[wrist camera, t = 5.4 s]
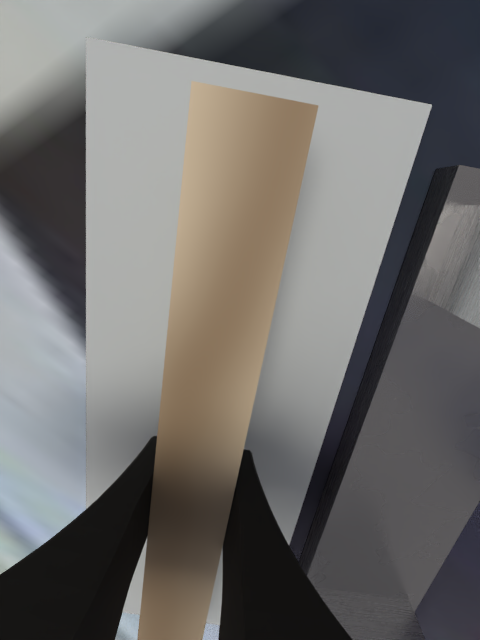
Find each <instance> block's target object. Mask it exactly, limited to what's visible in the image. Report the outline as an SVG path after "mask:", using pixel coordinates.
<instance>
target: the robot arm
mask: <svg viewBox="0 0 480 640" xmlns="http://www.w3.org/2000/svg"><path fill="white" fill-rule="evenodd" d="M156 443H157V436H153V437H151V438H150V440H149V441H148V443H147V444H146V445H145V447H144V448H143V449H142V451H141V452H140V453H139V454H138V456H137V457H136V458H135V459H134V460H133V462H132V463H131V464H130V465H129V466H128V467H127V468H126V470H125V471H124V472H123V473H122V474H121V475H120V476H119V477H118V478H117V480H116V481H115V482H114V483H113V484H112V485H111V486H110V487H109V488H108V489H107V490H106V491H105V492H104V493H103V494H102V495H101V496H100V497H99V498H98V499H97V500H96V501H95V502H93V503H92V504H91V505H90V506H89V507H88V508H87V509H86V510H85V511H84V512H82V513H81V514H80V515H79V516H78V517H77V518H76V519H74V520H73V521H72V522H71V523H70V524H68V525H67V526H66V527H65V528H63V529H62V530H61V531H60V532H59V533H57V534H56V535H55V536H54V537H52V538H51V539H50V540H48V541H47V542H46V543H44V544H43V545H42V546H40V547H39V548H38V549H36V550H35V551H33V552H32V553H31V554H29V555H28V556H26V557H25V558H23V559H22V560H21V561H19V562H18V563H16V564H15V565H14V566H12V567H11V568H9V569H8V570H6V571H5V572H3V573H2V574H0V640H115V637H116V633H117V629H118V626H119V622H120V619H121V615H122V612H123V608H124V604H125V601H126V597H127V594H128V590H129V587H130V584H131V581H132V578H133V575H134V572H135V569H136V566H137V564H138V561H139V558H140V555H141V553H142V550H143V547H144V545H145V542H146V539H147V536H148V526H149V516H150V506H151V495H152V485H153V475H154V464H155V454H156ZM219 640H353V639H352V638H351V637H350V636H349V634H348V633H347V632H346V631H345V629H344V628H343V627H342V625H341V624H340V623H339V621H338V620H337V619H336V617H335V616H334V615H333V613H332V612H331V611H330V609H329V608H328V606H327V605H326V604H325V602H324V601H323V600H322V598H321V596H320V595H319V593H318V592H317V590H316V589H315V587H314V586H313V584H312V583H311V581H310V580H309V578H308V577H307V575H306V574H305V572H304V571H303V569H302V567H301V566H300V564H299V562H298V561H297V559H296V557H295V556H294V554H293V552H292V550H291V548H290V547H289V545H288V543H287V541H286V539H285V537H284V535H283V533H282V531H281V529H280V527H279V525H278V523H277V521H276V519H275V517H274V515H273V512H272V510H271V508H270V506H269V503H268V501H267V498H266V496H265V493H264V491H263V488H262V485H261V483H260V480H259V477H258V474H257V471H256V467H255V464H254V460H253V456H252V452H251V451H250V450H246V449H244V450H243V455H242V459H241V464H240V468H239V473H238V477H237V482H236V487H235V491H234V496H233V500H232V505H231V510H230V514H229V519H228V523H227V528H226V533H225V537H224V542H223V577H222V605H221V617H220V629H219Z"/></svg>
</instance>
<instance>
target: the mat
mask: <svg viewBox="0 0 480 640" xmlns="http://www.w3.org/2000/svg"><path fill="white" fill-rule="evenodd" d="M191 81H195V82H200V83H205V84H211V85H216V86H221V87H226V88H231V89H236V90H242V91H247V92H252V93H257V94H262V95H267V96H273V97H278V98H283V99H288V100H293V101H298V102H304V103H309V104H314V105H319V106H318V111H317V115H316V120H315V124H314V129H313V133H312V138H311V143H310V147H309V152H308V156H307V161H306V166H305V170H304V175H303V179H302V184H301V189H300V193H299V198H298V202H297V207H296V211H295V216H294V221H293V225H292V230H291V234H290V239H289V244H288V248H287V253H286V257H285V262H284V266H283V271H282V276H281V280H280V285H279V289H278V294H277V299H276V303H275V308H274V312H273V317H272V322H271V326H270V331H269V335H268V340H267V344H266V349H265V354H264V358H263V363H262V367H261V372H260V377H259V381H258V386H257V390H256V395H255V400H254V404H253V409H252V413H251V418H250V422H249V427H248V432H247V436H246V441H245V445H244V449H246V450H250V451H251V452H252V456H253V460H254V464H255V467H256V471H257V474H258V477H259V480H260V483H261V485H262V488H263V491H264V493H265V496H266V498H267V501H268V503H269V506H270V508H271V510H272V512H273V515H274V517H275V519H276V521H277V523H278V525H279V527H280V529H281V531H282V533H283V535H284V537H285V539H286V541H287V543H288V545H290V541H291V538H292V535H293V532H294V529H295V526H296V523H297V520H298V517H299V514H300V511H301V508H302V504H303V501H304V498H305V495H306V492H307V489H308V486H309V483H310V480H311V477H312V474H313V471H314V467H315V464H316V461H317V458H318V455H319V452H320V449H321V446H322V443H323V440H324V437H325V434H326V431H327V427H328V424H329V421H330V418H331V415H332V412H333V409H334V406H335V403H336V400H337V397H338V394H339V390H340V387H341V384H342V381H343V378H344V375H345V372H346V369H347V366H348V363H349V360H350V357H351V353H352V350H353V347H354V344H355V341H356V338H357V335H358V332H359V329H360V326H361V323H362V320H363V316H364V313H365V310H366V307H367V304H368V301H369V298H370V295H371V292H372V289H373V286H374V283H375V279H376V276H377V273H378V270H379V267H380V264H381V261H382V258H383V255H384V252H385V249H386V246H387V242H388V239H389V236H390V233H391V230H392V227H393V224H394V221H395V218H396V215H397V212H398V209H399V205H400V202H401V199H402V196H403V193H404V190H405V187H406V184H407V181H408V178H409V175H410V172H411V168H412V165H413V162H414V159H415V156H416V153H417V150H418V147H419V144H420V141H421V138H422V135H423V131H424V128H425V125H426V122H427V119H428V116H429V113H430V110H431V107H432V105H430V104H425V103H420V102H415V101H410V100H405V99H400V98H395V97H390V96H385V95H379V94H374V93H369V92H364V91H359V90H354V89H349V88H344V87H339V86H334V85H329V84H324V83H318V82H313V81H308V80H303V79H298V78H293V77H288V76H283V75H278V74H273V73H268V72H263V71H257V70H252V69H247V68H242V67H237V66H232V65H227V64H222V63H217V62H212V61H207V60H202V59H196V58H191V57H186V56H181V55H176V54H171V53H166V52H161V51H156V50H151V49H146V48H141V47H135V46H130V45H125V44H120V43H115V42H110V41H105V40H100V39H95V38H90V37H86V509H87V508H88V507H89V506H90V505H91V504H92V503H93V502H95V501H96V500H97V499H98V498H99V497H100V496H101V495H102V494H103V493H104V492H105V491H106V490H107V489H108V488H109V487H110V486H111V485H112V484H113V483H114V482H115V481H116V480H117V478H118V477H119V476H120V475H121V474H122V473H123V472H124V471H125V470H126V468H127V467H128V466H129V465H130V464H131V463H132V462H133V460H134V459H135V458H136V457H137V456H138V454H139V453H140V452H141V451H142V449H143V448H144V447H145V445H146V444H147V443H148V441H149V440H150V438H151V437H153V436H157V433H158V423H159V412H160V402H161V392H162V381H163V371H164V361H165V350H166V340H167V330H168V319H169V309H170V298H171V288H172V278H173V267H174V257H175V247H176V236H177V226H178V216H179V205H180V195H181V185H182V174H183V164H184V154H185V143H186V133H187V122H188V112H189V102H190V91H191ZM147 537H148V536H147ZM146 547H147V539H146V542H145V545H144V547H143V550H142V553H141V555H140V558H139V561H138V564H137V566H136V569H135V572H134V575H133V578H132V581H131V584H130V587H129V590H128V594H127V597H126V601H125V604H124V608H123V613H130V614H138V615H140V609H141V599H142V588H143V578H144V568H145V557H146ZM222 577H223V546H222V551H221V555H220V560H219V565H218V569H217V574H216V578H215V583H214V588H213V592H212V597H211V601H210V606H209V611H208V615H207V620H206V623H208V624H216V625H220V617H221V605H222Z"/></svg>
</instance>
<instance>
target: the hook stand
mask: <svg viewBox="0 0 480 640" xmlns="http://www.w3.org/2000/svg"><path fill="white" fill-rule="evenodd" d="M479 501H480V169H478V168H472V167H467V166H462V165H456V166H451V167H445V168H439V169H436V171H435V174H434V177H433V179H432V182H431V185H430V188H429V191H428V194H427V197H426V199H425V202H424V205H423V208H422V211H421V214H420V217H419V219H418V222H417V225H416V228H415V231H414V234H413V237H412V240H411V242H410V245H409V248H408V251H407V254H406V257H405V260H404V262H403V265H402V268H401V271H400V274H399V277H398V280H397V283H396V285H395V288H394V291H393V294H392V297H391V300H390V303H389V305H388V308H387V311H386V314H385V317H384V320H383V323H382V325H381V328H380V331H379V334H378V337H377V340H376V343H375V346H374V348H373V351H372V354H371V357H370V360H369V363H368V366H367V368H366V371H365V374H364V377H363V380H362V383H361V386H360V388H359V391H358V394H357V397H356V400H355V403H354V406H353V409H352V411H351V414H350V417H349V420H348V423H347V426H346V429H345V431H344V434H343V437H342V440H341V443H340V446H339V449H338V451H337V454H336V457H335V460H334V463H333V466H332V469H331V472H330V474H329V477H328V480H327V483H326V486H325V489H324V492H323V494H322V497H321V500H320V503H319V506H318V509H317V512H316V514H315V517H314V520H313V523H312V526H311V529H310V532H309V535H308V537H307V540H306V543H305V546H304V549H303V552H302V555H301V557H300V560H299V564H300V566H301V567H302V569H303V571H304V572H305V574H306V575H307V577H308V578H309V580H310V581H311V583H312V584H313V586H314V587H315V589H316V590H317V592H318V593H319V595H320V596H321V598H322V600H323V601H324V602H325V604H326V605H327V606H328V608H329V609H330V611H331V612H332V613H333V615H334V616H335V617H336V619H337V620H338V621H339V623H340V624H341V625H342V627H343V628H344V629H345V631H346V632H347V633H348V634H349V636H350V637H351V638H352V639H353V640H425V638H424V635H423V633H422V630H421V628H420V625H419V623H418V620H417V618H416V615H415V613H414V612H415V610H416V608H417V607H418V605H419V603H420V602H421V600H422V598H423V597H424V595H425V593H426V591H427V590H428V588H429V586H430V585H431V583H432V581H433V580H434V578H435V576H436V574H437V573H438V571H439V569H440V568H441V566H442V564H443V562H444V561H445V559H446V557H447V556H448V554H449V552H450V551H451V549H452V547H453V545H454V544H455V542H456V540H457V539H458V537H459V535H460V534H461V532H462V530H463V528H464V527H465V525H466V523H467V522H468V520H469V518H470V516H471V515H472V513H473V511H474V510H475V508H476V506H477V505H478V503H479Z"/></svg>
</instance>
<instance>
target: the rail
mask: <svg viewBox="0 0 480 640" xmlns="http://www.w3.org/2000/svg"><path fill="white" fill-rule="evenodd" d="M318 106H319V105H314V104H309V103H304V102H298V101H293V100H288V99H283V98H278V97H273V96H267V95H262V94H257V93H252V92H247V91H242V90H236V89H231V88H226V87H221V86H216V85H211V84H205V83H200V82H195V81H191V91H190V102H189V112H188V122H187V133H186V143H185V154H184V164H183V174H182V185H181V195H180V205H179V216H178V226H177V236H176V247H175V257H174V267H173V278H172V288H171V298H170V309H169V319H168V330H167V340H166V350H165V361H164V371H163V381H162V392H161V402H160V412H159V423H158V433H157V443H156V454H155V464H154V475H153V485H152V495H151V506H150V516H149V526H148V537H147V547H146V557H145V568H144V578H143V588H142V599H141V609H140V619H139V630H138V640H202V638H203V633H204V629H205V624H206V620H207V615H208V611H209V606H210V601H211V597H212V592H213V588H214V583H215V578H216V574H217V569H218V565H219V560H220V555H221V551H222V546H223V542H224V537H225V533H226V528H227V523H228V519H229V514H230V510H231V505H232V500H233V496H234V491H235V487H236V482H237V477H238V473H239V468H240V464H241V459H242V455H243V450H244V445H245V441H246V436H247V432H248V427H249V422H250V418H251V413H252V409H253V404H254V400H255V395H256V390H257V386H258V381H259V377H260V372H261V367H262V363H263V358H264V354H265V349H266V344H267V340H268V335H269V331H270V326H271V322H272V317H273V312H274V308H275V303H276V299H277V294H278V289H279V285H280V280H281V276H282V271H283V266H284V262H285V257H286V253H287V248H288V244H289V239H290V234H291V230H292V225H293V221H294V216H295V211H296V207H297V202H298V198H299V193H300V189H301V184H302V179H303V175H304V170H305V166H306V161H307V156H308V152H309V147H310V143H311V138H312V133H313V129H314V124H315V120H316V115H317V111H318Z"/></svg>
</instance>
